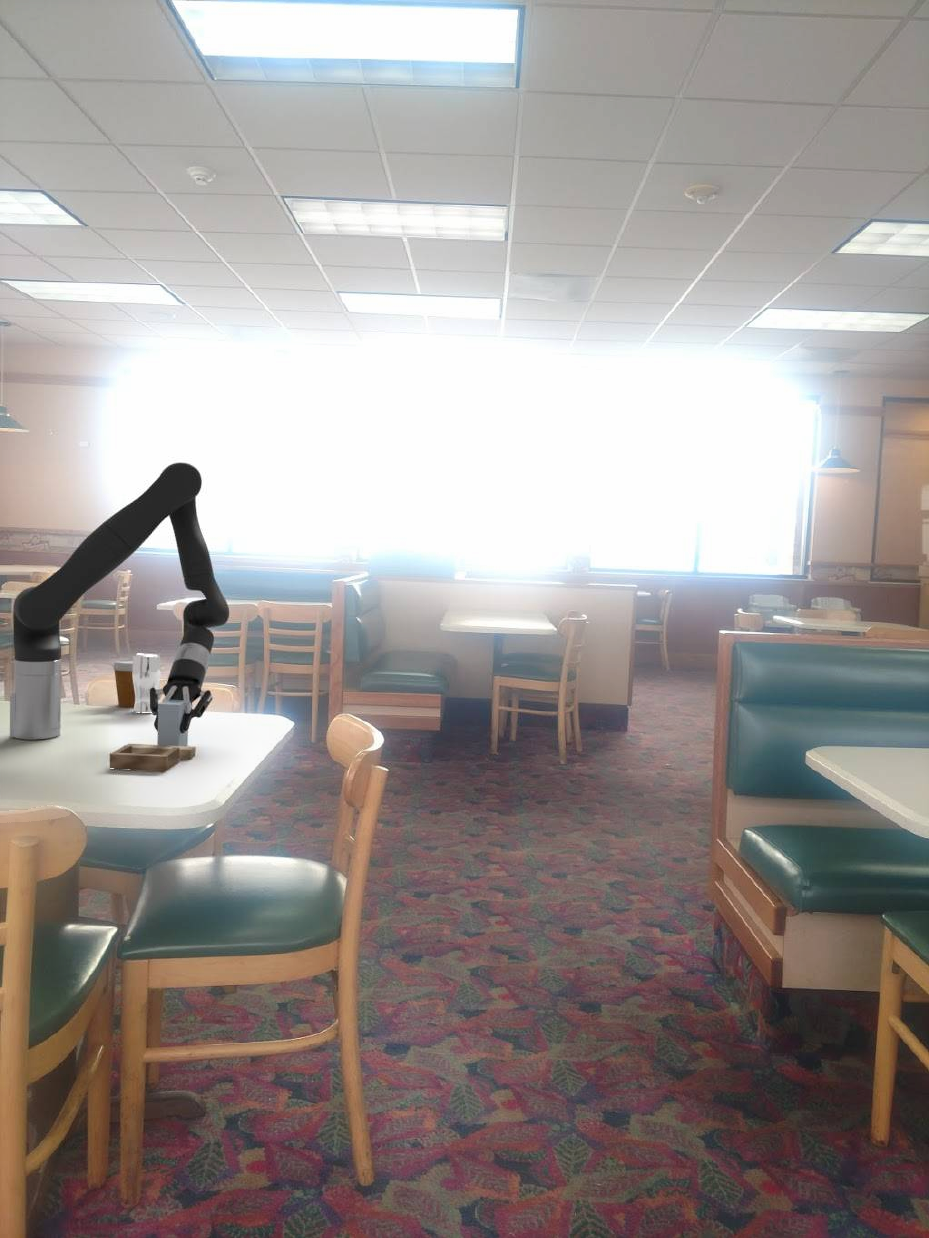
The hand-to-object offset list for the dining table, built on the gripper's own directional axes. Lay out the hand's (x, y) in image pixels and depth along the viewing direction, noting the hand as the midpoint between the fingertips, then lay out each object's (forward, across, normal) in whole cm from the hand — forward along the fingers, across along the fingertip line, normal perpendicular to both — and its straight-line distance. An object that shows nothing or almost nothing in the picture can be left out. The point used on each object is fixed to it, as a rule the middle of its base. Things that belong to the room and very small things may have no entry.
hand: (170, 730), depth 178 cm
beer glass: (-24, -20, +31) cm, 44 cm away
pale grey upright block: (+2, 0, +4) cm, 5 cm away
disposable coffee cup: (-30, -27, +36) cm, 54 cm away
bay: (+12, 0, -6) cm, 14 cm away
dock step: (+7, 0, -1) cm, 7 cm away
